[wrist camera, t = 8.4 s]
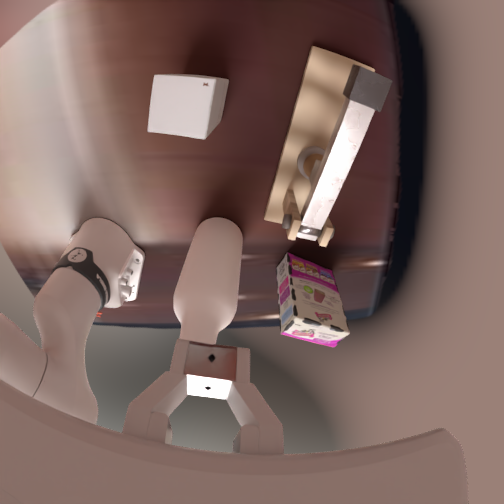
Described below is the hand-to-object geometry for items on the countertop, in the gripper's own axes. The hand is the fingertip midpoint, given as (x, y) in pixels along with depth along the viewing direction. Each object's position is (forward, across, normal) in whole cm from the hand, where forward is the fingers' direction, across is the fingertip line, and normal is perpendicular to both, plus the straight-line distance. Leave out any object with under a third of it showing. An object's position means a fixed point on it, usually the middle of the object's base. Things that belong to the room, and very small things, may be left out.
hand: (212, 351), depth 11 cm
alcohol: (+37, +2, +18) cm, 41 cm away
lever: (+28, -11, -4) cm, 30 cm away
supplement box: (+37, +8, -7) cm, 38 cm away
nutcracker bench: (+36, -11, -3) cm, 38 cm away
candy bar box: (+37, -16, +22) cm, 46 cm away
